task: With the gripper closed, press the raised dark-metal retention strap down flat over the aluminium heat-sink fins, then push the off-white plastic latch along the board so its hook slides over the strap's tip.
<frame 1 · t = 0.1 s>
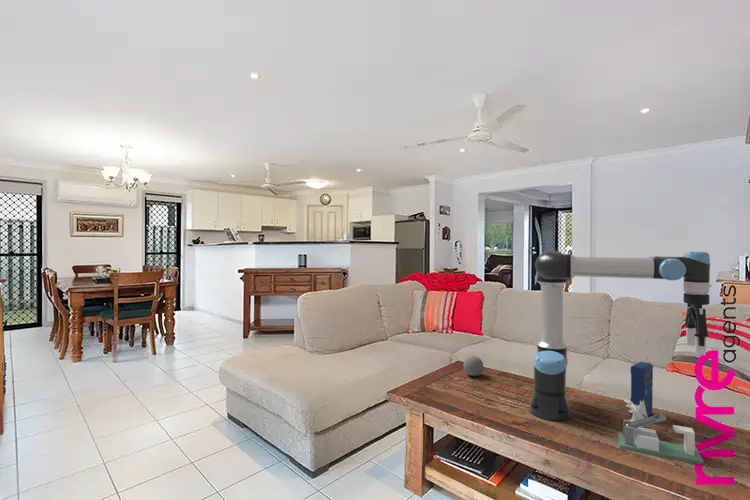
hand: (695, 349, 148), 28 cm above the table, fingers open, 13 cm apart
decorative ball: (473, 375, 203), on the table
strap: (645, 421, 132), point 8 cm above the table, hinge at 28.0°
latch: (683, 440, 128), point 5 cm above the table, slide at 0.0 cm
board: (657, 449, 131), on the table
electronic device: (641, 415, 156), on the table
figurine: (635, 431, 144), on the table
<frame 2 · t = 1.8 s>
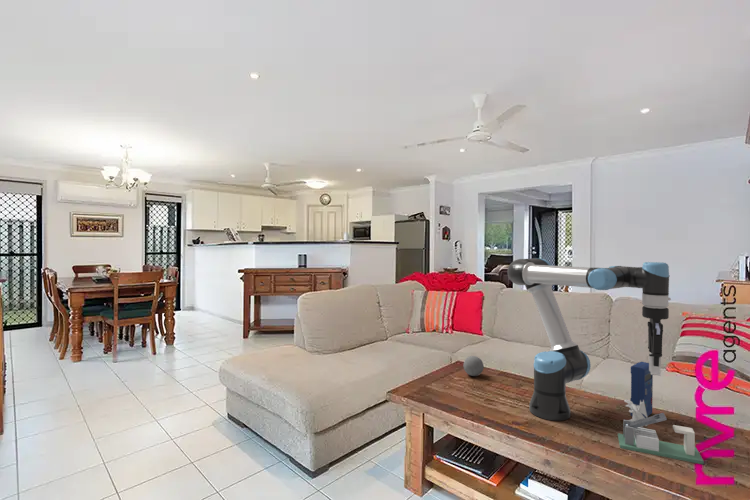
hand: (654, 373, 139), 23 cm above the table, fingers open, 3 cm apart
nothing on the table moved.
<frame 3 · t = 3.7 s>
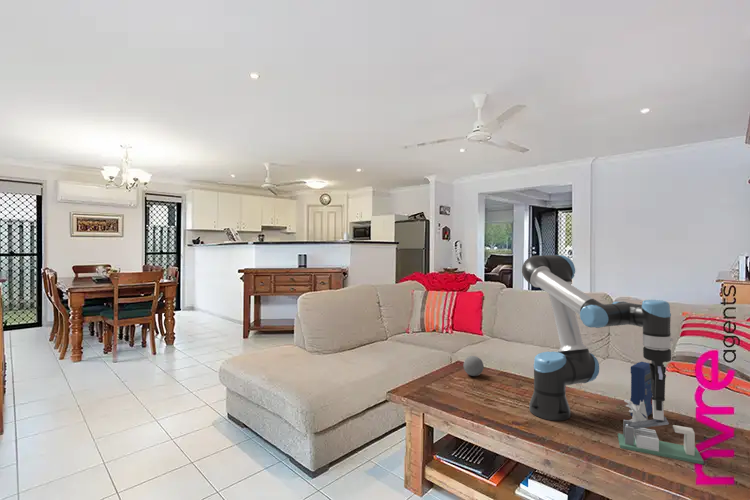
hand: (658, 418, 131), 10 cm above the table, fingers closed
strap: (646, 423, 132), point 8 cm above the table, hinge at 20.5°, touching gripper
everything else where it was.
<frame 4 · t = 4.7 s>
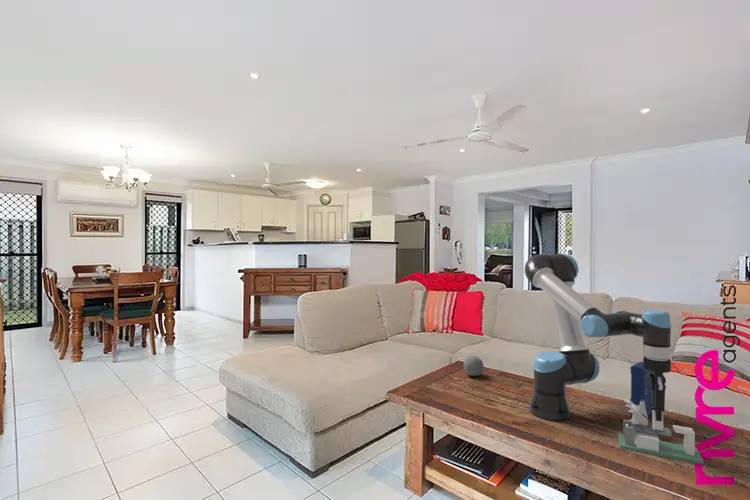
hand: (658, 429, 131), 7 cm above the table, fingers closed
strap: (647, 429, 132), point 6 cm above the table, hinge at 1.9°, touching gripper
everything else where it was.
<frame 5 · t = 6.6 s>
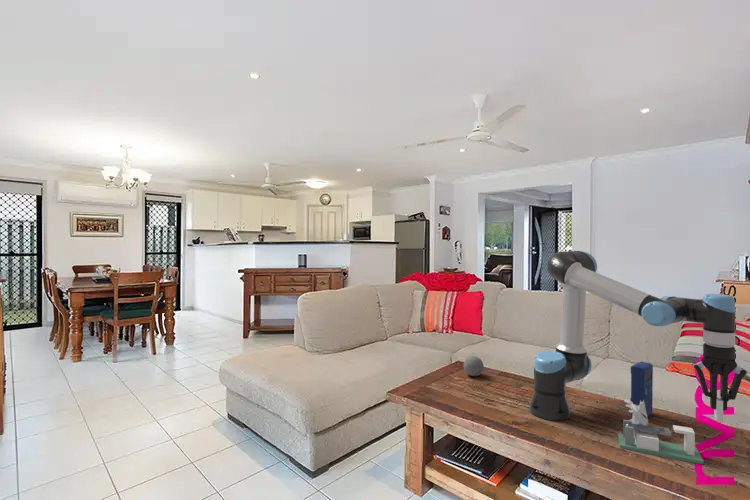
hand: (718, 419, 123), 13 cm above the table, fingers closed
strap: (647, 429, 132), point 6 cm above the table, hinge at 1.8°
everything else where it was.
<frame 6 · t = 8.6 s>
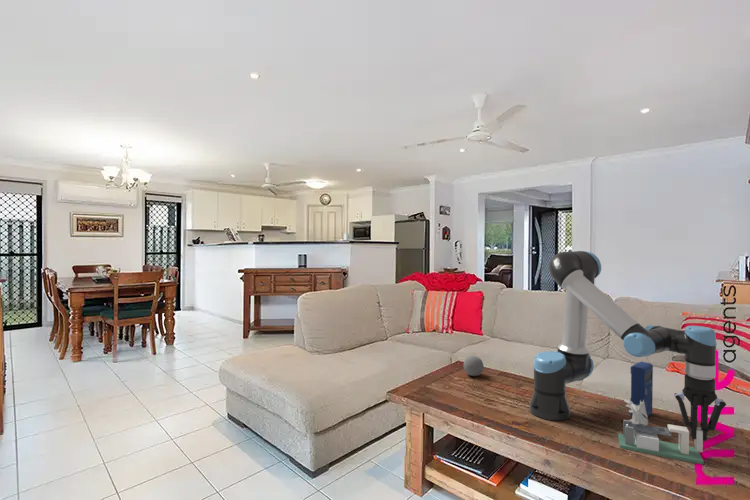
hand: (698, 449, 126), 3 cm above the table, fingers closed
latch: (678, 439, 128), point 5 cm above the table, slide at 1.4 cm, touching gripper
everything else where it was.
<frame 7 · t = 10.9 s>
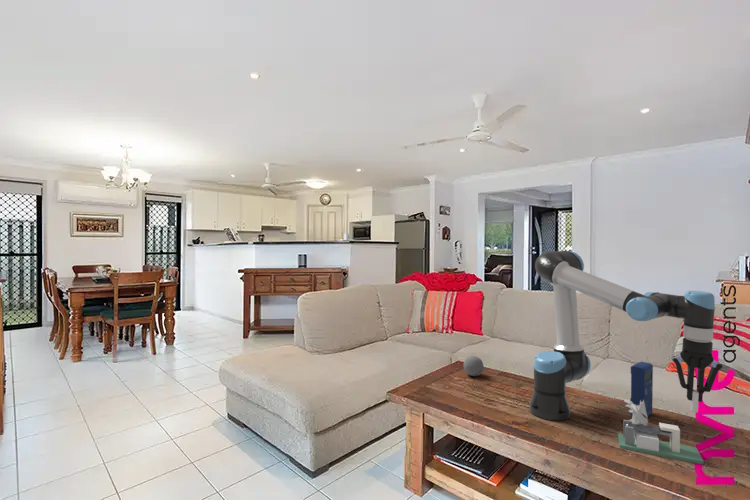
hand: (693, 410, 130), 13 cm above the table, fingers closed
latch: (669, 437, 129), point 5 cm above the table, slide at 3.7 cm
everything else where it was.
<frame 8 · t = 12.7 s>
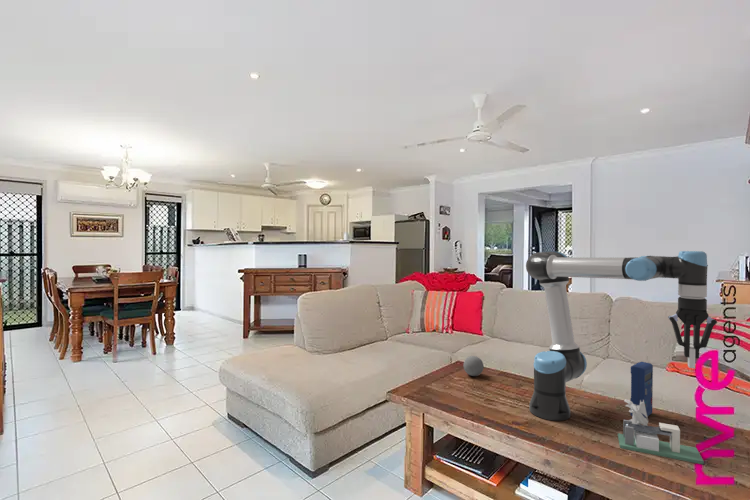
hand: (691, 367, 133), 26 cm above the table, fingers closed
nothing on the table moved.
at the end: strap at +2° (first picture: +28°); latch slide at 3.7 cm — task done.
